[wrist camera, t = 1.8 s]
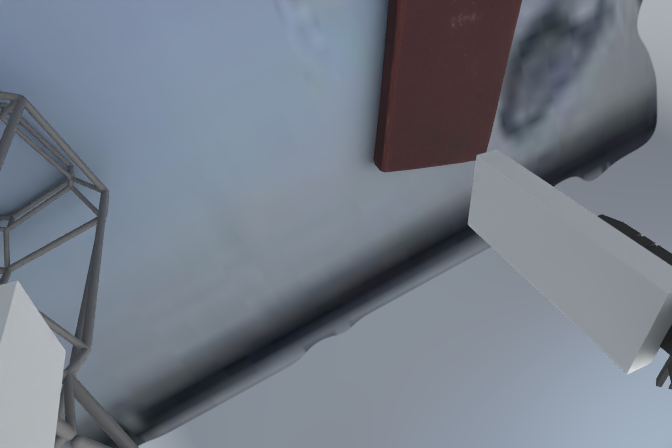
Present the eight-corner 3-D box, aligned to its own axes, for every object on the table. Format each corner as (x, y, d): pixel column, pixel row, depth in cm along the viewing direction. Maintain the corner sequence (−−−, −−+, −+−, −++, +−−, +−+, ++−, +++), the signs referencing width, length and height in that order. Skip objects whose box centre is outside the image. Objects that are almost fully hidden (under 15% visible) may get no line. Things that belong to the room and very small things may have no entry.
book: (369, 161, 53) (383, 175, 51) (388, -57, 41) (408, -53, 38) (469, 146, 58) (487, 159, 55) (514, -54, 46) (539, -51, 43)
